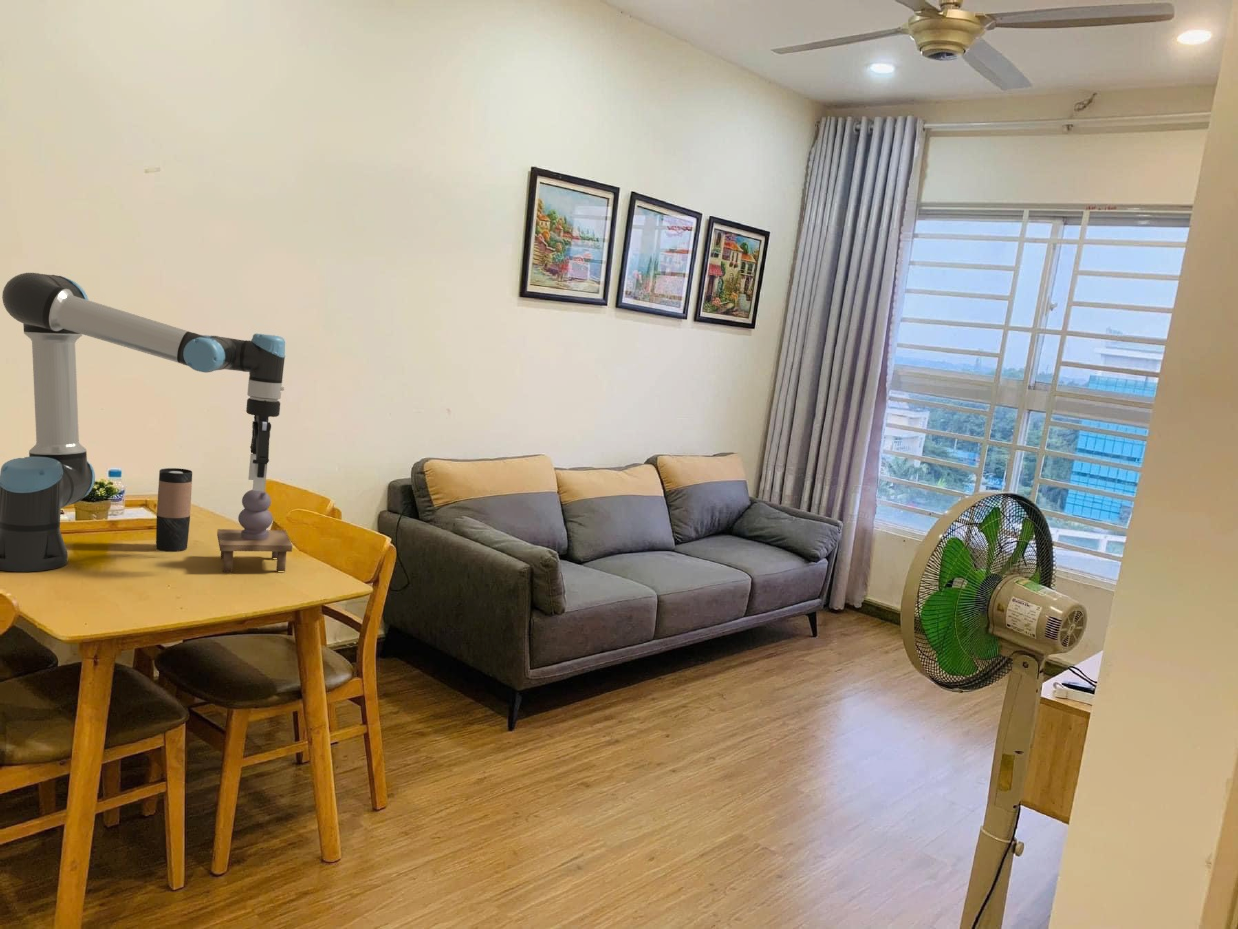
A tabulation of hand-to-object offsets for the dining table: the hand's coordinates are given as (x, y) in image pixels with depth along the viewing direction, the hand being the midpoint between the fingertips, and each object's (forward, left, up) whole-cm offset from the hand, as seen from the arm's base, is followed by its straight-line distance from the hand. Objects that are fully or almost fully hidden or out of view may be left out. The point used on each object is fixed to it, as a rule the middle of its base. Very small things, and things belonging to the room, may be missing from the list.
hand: (256, 485), depth 222 cm
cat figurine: (0, 0, -13) cm, 13 cm away
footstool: (0, 0, -20) cm, 20 cm away
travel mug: (-18, +16, -20) cm, 31 cm away
